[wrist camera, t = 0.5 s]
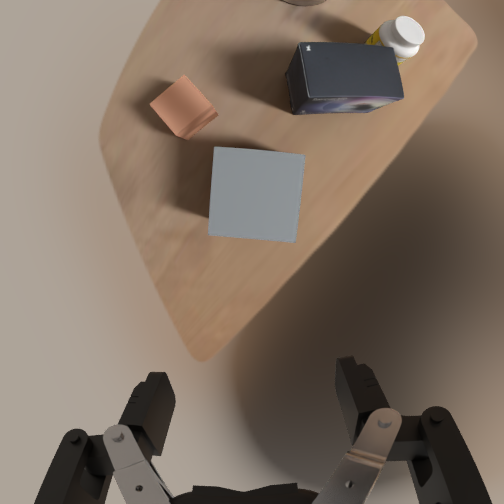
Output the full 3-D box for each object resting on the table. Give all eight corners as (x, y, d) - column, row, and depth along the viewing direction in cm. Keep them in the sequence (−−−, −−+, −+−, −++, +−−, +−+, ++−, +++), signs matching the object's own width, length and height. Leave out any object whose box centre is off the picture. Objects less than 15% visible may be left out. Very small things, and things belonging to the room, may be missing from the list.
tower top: (218, 149, 31) (214, 146, 27) (299, 156, 31) (305, 155, 28) (213, 227, 34) (208, 235, 30) (290, 234, 34) (295, 242, 30)
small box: (292, 118, 34) (306, 100, 24) (284, 72, 32) (295, 39, 22) (369, 115, 33) (406, 100, 23) (361, 70, 31) (393, 44, 21)
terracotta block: (194, 88, 32) (184, 74, 27) (218, 115, 34) (212, 105, 28) (164, 113, 33) (149, 104, 28) (187, 140, 34) (175, 135, 29)
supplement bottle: (377, 33, 29) (406, 5, 20) (402, 61, 30) (437, 40, 21) (354, 49, 30) (381, 20, 21) (380, 78, 32) (414, 57, 22)
